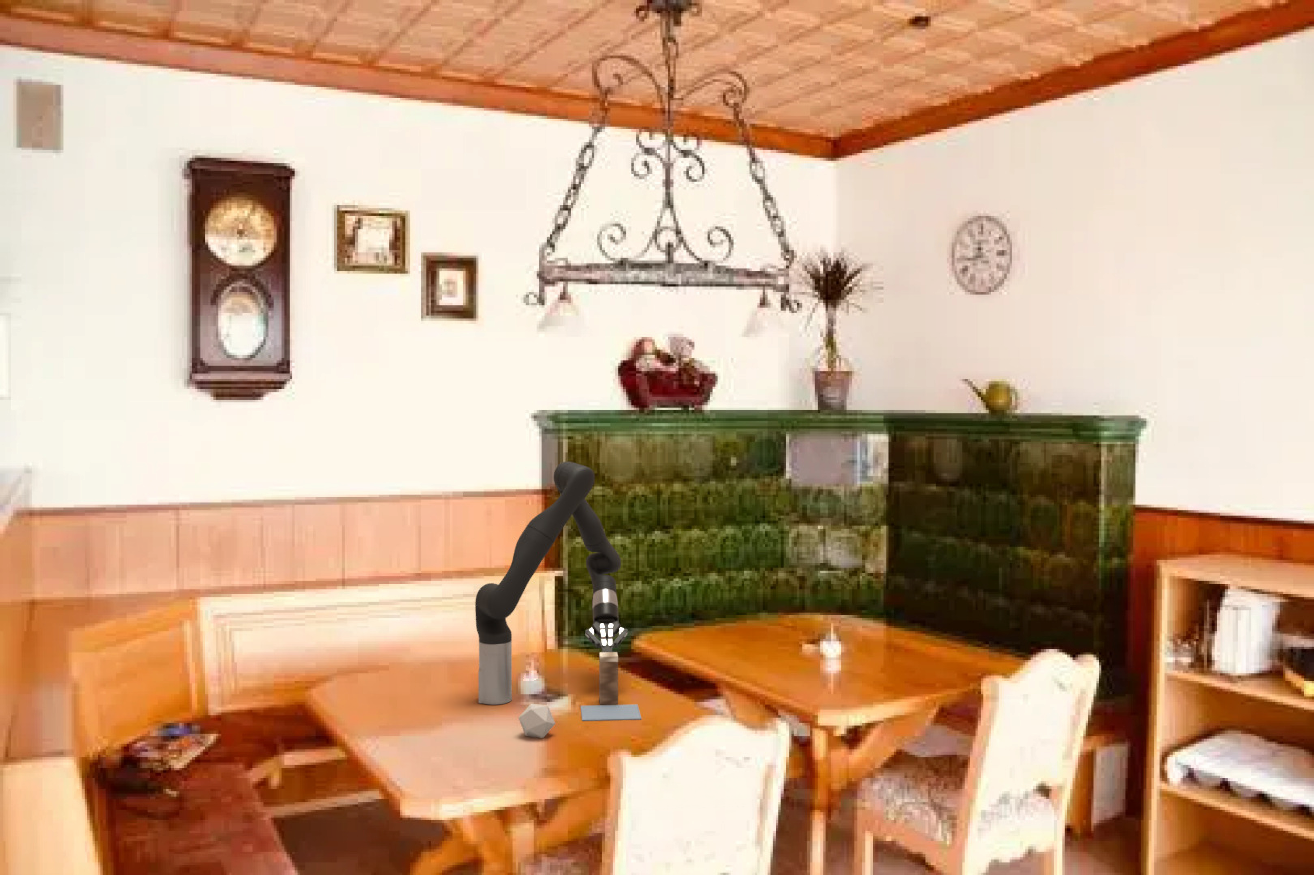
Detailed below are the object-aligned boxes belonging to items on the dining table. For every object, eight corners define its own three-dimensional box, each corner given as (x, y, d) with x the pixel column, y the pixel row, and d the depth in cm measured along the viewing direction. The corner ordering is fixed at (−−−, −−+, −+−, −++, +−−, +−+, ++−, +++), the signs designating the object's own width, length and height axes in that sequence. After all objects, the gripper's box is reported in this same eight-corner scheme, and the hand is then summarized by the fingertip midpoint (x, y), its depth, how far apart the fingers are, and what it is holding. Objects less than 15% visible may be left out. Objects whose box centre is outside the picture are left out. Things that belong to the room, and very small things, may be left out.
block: (600, 705, 320) (600, 656, 319) (599, 700, 325) (599, 652, 324) (617, 705, 320) (618, 656, 320) (616, 700, 325) (616, 652, 325)
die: (560, 735, 296) (548, 701, 300) (555, 728, 288) (542, 693, 292) (530, 747, 295) (519, 713, 299) (524, 741, 287) (512, 705, 292)
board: (582, 721, 306) (582, 719, 306) (580, 706, 319) (580, 705, 319) (641, 719, 308) (641, 718, 308) (637, 705, 320) (637, 704, 320)
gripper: (583, 601, 336) (584, 652, 324) (628, 600, 337) (631, 651, 326) (582, 615, 341) (584, 666, 330) (626, 614, 343) (629, 665, 331)
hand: (607, 659), depth 328 cm, fingers closed
